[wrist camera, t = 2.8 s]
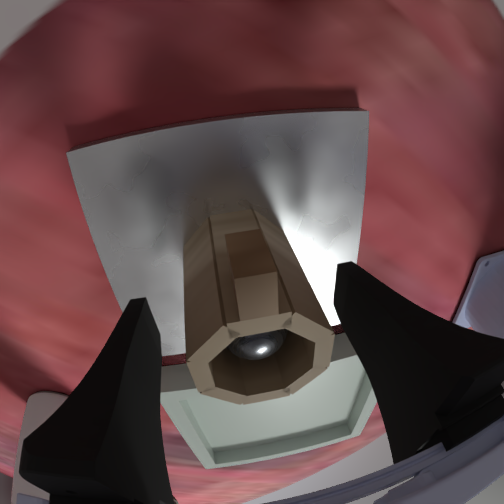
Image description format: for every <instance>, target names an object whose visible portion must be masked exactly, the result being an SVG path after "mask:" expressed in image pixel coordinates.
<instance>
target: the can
mask: <svg viewBox="0 0 504 504" xmlns="http://www.w3.org/2000/svg"><path fill="white" fill-rule="evenodd" d="M68 397H69V396H68V395H65V394H62V393H58V392H53V391H40V392H36V393H35V394H33V395H31V396H30V397H29V398H28V401H27V405H26V409H25V413H24V417H23V422H22V427H21V432H20V437H19V443H18V448H17V455H16V461H15V468H14V477H13V487H12V498H11V504H16V501H17V494H18V493H22V494H26V495H30V496H35V497H39V498H43V499H46V500H49V496H50V494H49V493H47V492H45V491H44V490H42V489H40V488H38V487H36V486H34V485H33V484H31V483H29V482H27V481H26V480H24V479H23V478H22V477H21V476H20V474H19V465H20V458H21V451H22V445H23V440H24V439H25V438H26V437H27V436H29V435H30V434H31V433H32V432H33V431H34V430H36V429H37V428H38V427H39V426H40V425H41V424H43V423H44V422H45V421H46V420H47V419H48V418H49V417H50V416H51V415H52V414H53V413H54V412H55V411H56V410H57V409H58V408H59V407H60V406H61V405H62V404H63V402H64V401H65V400H66V399H67V398H68Z"/></svg>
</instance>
